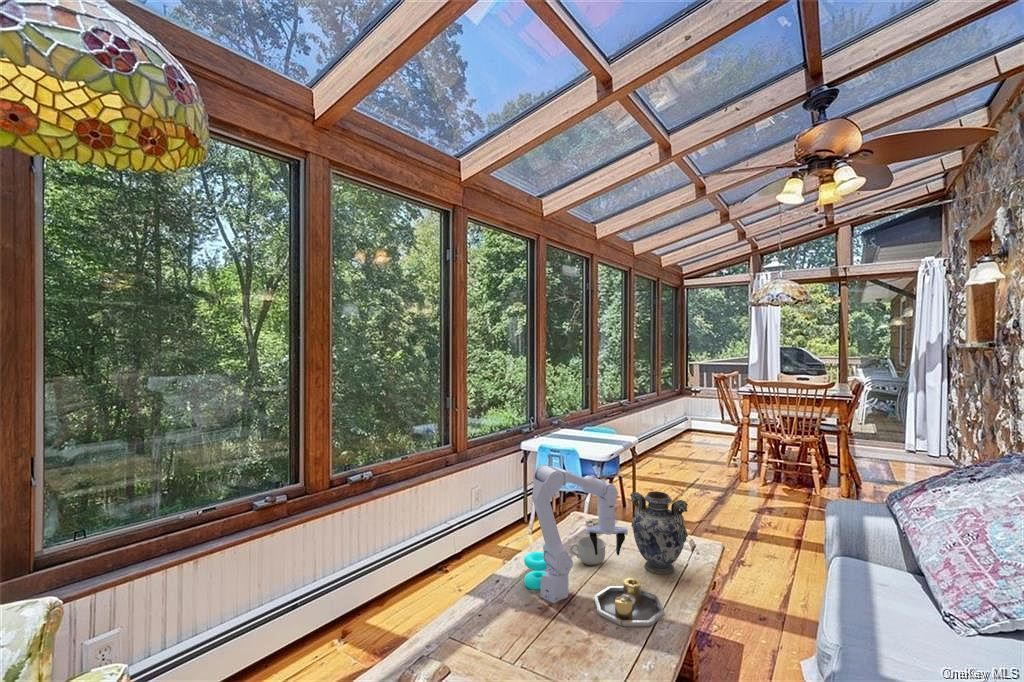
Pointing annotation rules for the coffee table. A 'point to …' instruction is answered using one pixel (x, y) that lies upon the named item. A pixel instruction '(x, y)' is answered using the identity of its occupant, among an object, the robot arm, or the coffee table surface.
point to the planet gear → (633, 588)
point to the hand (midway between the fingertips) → (606, 553)
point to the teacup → (589, 550)
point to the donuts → (537, 564)
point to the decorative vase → (659, 530)
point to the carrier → (628, 607)
